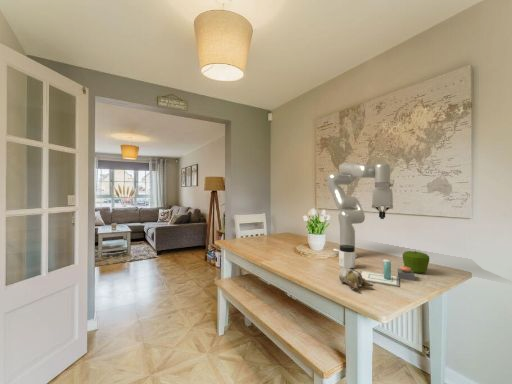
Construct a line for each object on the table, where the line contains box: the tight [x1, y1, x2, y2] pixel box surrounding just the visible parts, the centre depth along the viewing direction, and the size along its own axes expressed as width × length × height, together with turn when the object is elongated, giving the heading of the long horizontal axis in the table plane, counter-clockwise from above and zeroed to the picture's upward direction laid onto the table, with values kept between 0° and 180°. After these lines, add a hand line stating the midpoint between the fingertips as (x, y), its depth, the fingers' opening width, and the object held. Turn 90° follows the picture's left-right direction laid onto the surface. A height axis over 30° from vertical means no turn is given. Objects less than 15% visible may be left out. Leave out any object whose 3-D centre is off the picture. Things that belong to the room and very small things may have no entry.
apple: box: [402, 250, 430, 274], centre depth 132 cm, size 12×12×11 cm
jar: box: [338, 244, 356, 269], centre depth 141 cm, size 9×8×12 cm
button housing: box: [397, 268, 415, 282], centre depth 123 cm, size 7×7×3 cm
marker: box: [382, 258, 392, 280], centre depth 119 cm, size 3×3×9 cm
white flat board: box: [359, 270, 400, 288], centre depth 121 cm, size 18×15×1 cm
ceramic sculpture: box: [338, 266, 374, 290], centre depth 112 cm, size 11×9×15 cm
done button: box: [400, 265, 411, 273], centre depth 123 cm, size 4×4×4 cm
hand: (382, 218), depth 134 cm, fingers closed
